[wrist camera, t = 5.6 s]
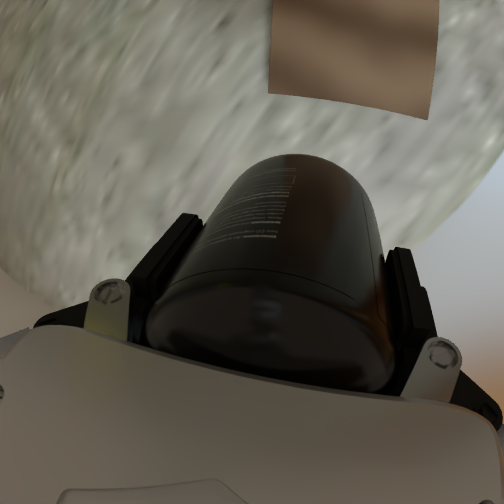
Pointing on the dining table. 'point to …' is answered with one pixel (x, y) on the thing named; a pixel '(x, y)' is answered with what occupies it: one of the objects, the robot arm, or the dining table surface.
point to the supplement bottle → (285, 283)
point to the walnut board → (356, 52)
